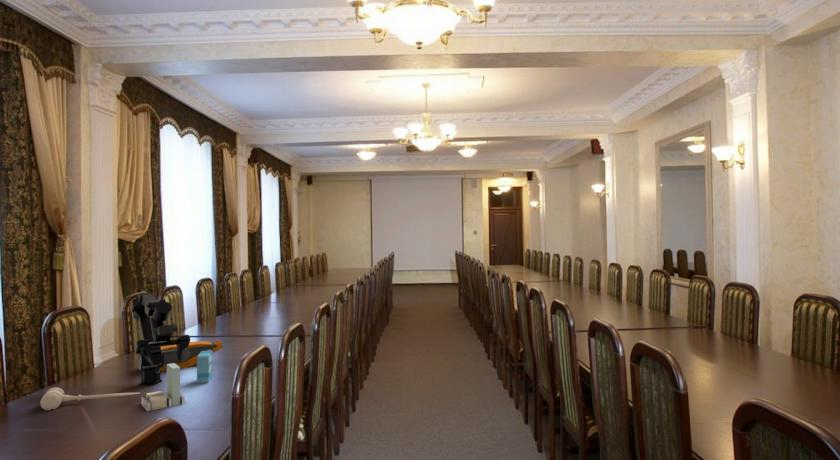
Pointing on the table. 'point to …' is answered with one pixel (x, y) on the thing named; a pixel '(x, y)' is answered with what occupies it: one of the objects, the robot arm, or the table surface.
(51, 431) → the table surface
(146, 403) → the rack
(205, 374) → the data package
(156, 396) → the offcut upper
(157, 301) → the robot arm
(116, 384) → the table surface
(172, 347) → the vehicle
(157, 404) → the offcut lower
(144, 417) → the table surface
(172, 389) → the pale green slab
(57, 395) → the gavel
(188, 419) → the table surface
